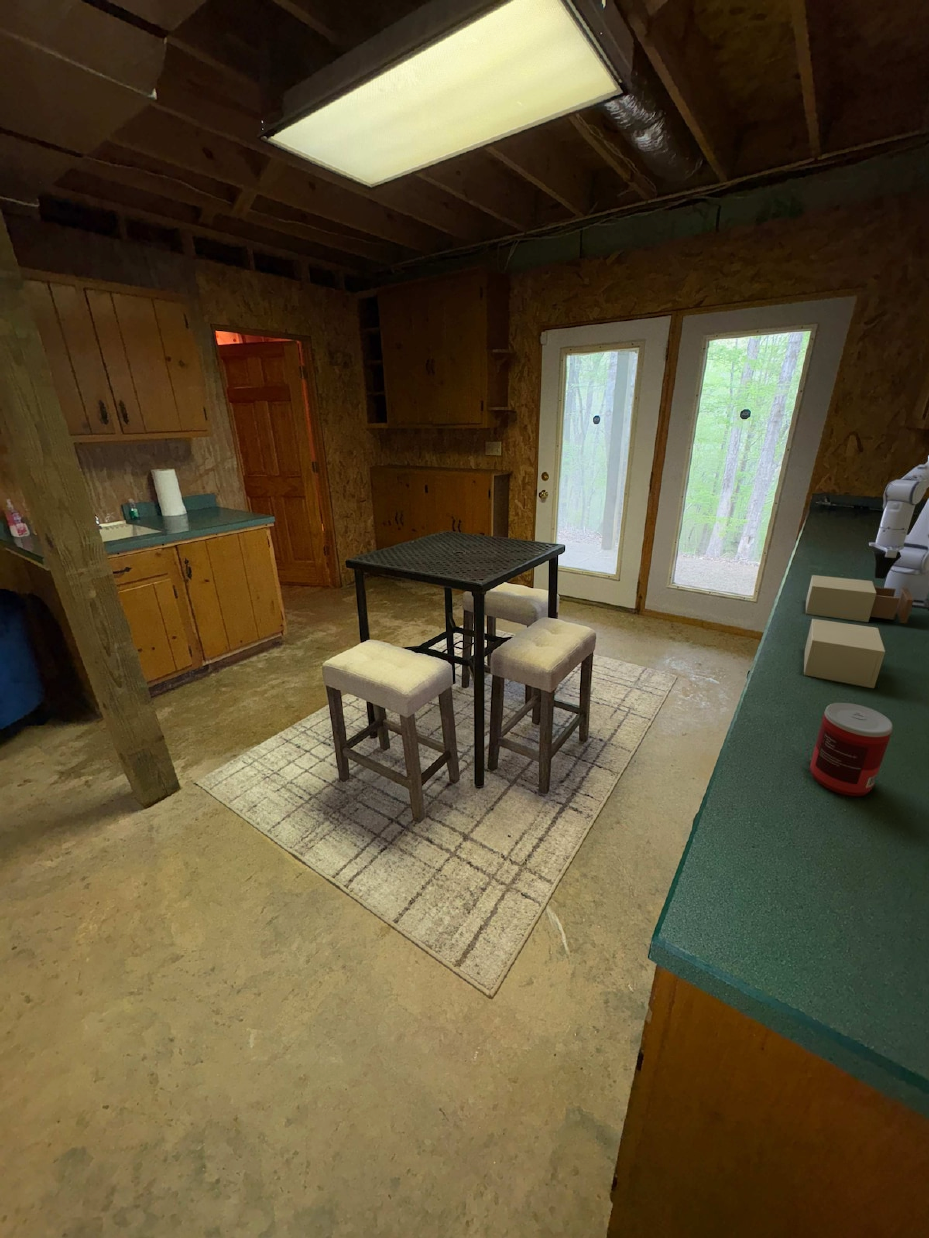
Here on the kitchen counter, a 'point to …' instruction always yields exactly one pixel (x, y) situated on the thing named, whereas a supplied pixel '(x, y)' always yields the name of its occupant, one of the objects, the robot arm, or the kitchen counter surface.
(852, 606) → the cardboard box
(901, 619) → the drawer
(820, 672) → the cardboard box
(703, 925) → the kitchen counter surface
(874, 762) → the canned food
